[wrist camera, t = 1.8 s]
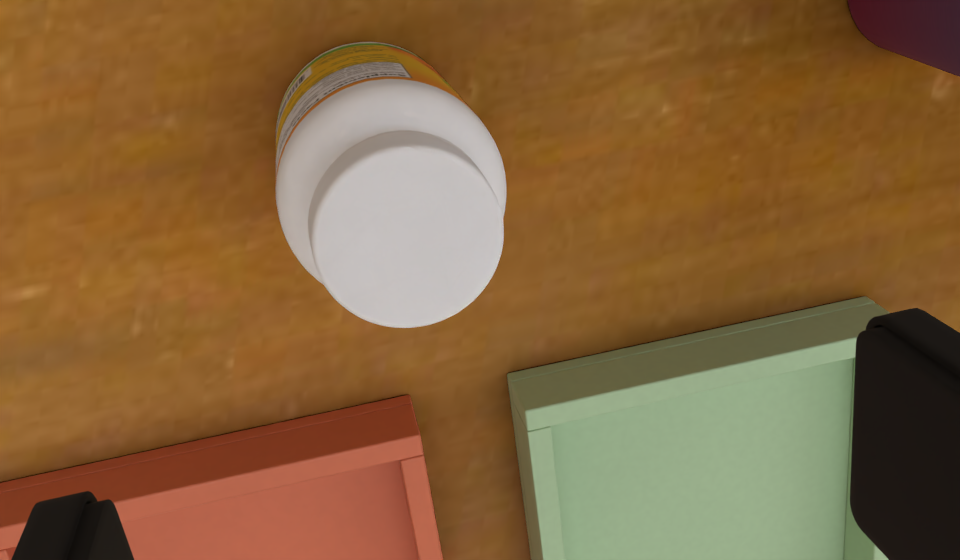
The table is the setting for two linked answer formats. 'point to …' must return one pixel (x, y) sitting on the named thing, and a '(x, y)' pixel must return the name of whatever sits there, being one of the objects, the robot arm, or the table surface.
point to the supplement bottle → (388, 185)
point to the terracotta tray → (263, 492)
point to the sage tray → (697, 444)
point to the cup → (913, 29)
